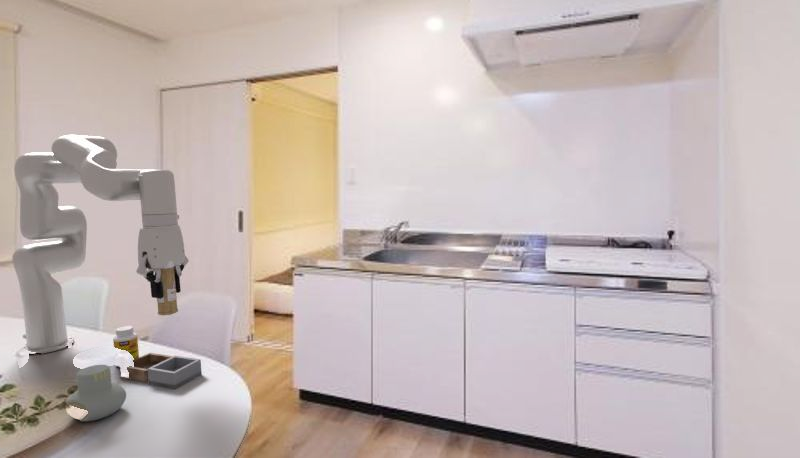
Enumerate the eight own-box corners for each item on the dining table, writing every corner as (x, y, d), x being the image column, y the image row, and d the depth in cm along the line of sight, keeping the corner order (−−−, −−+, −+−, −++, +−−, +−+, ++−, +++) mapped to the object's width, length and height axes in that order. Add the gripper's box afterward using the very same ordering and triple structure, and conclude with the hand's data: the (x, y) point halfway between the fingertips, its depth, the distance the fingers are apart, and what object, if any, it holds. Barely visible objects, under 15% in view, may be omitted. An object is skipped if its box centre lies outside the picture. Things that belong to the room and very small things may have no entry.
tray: (148, 384, 109) (147, 368, 108) (176, 370, 117) (175, 355, 116) (175, 389, 106) (174, 373, 106) (201, 374, 114) (200, 359, 114)
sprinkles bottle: (179, 313, 109) (175, 259, 108) (158, 317, 107) (153, 262, 105) (176, 309, 113) (172, 257, 111) (156, 312, 110) (152, 259, 109)
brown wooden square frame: (120, 377, 113) (119, 366, 113) (150, 363, 121) (150, 352, 121) (147, 382, 110) (146, 370, 110) (176, 367, 118) (175, 356, 118)
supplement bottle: (118, 370, 117) (114, 333, 116) (113, 364, 121) (110, 328, 120) (142, 364, 121) (138, 328, 120) (136, 358, 125) (133, 323, 124)
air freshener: (133, 408, 98) (129, 365, 96) (97, 429, 90) (92, 382, 89) (98, 400, 101) (94, 358, 100) (60, 419, 94) (55, 374, 92)
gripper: (176, 217, 116) (181, 285, 118) (116, 224, 100) (123, 303, 103) (199, 218, 114) (204, 287, 116) (141, 225, 98) (148, 305, 100)
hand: (166, 294), depth 109 cm, fingers closed on sprinkles bottle, 4 cm apart
